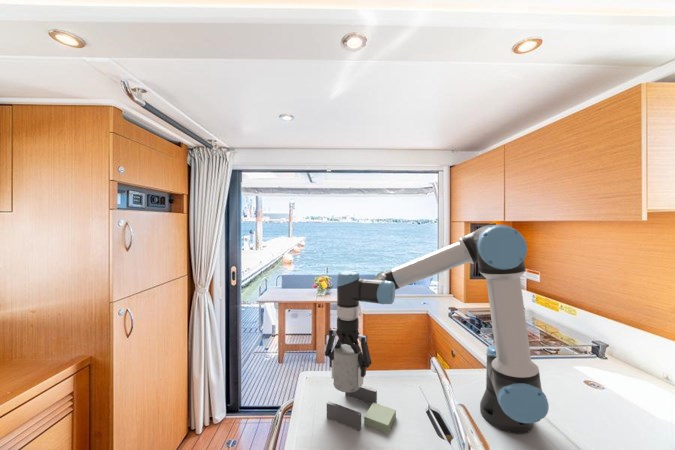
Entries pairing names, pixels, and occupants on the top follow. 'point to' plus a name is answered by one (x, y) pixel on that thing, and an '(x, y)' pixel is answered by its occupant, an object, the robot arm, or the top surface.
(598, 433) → the top surface
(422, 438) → the top surface
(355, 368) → the grey cylindrical piece
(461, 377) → the top surface
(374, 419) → the block
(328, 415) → the parallel grey rails
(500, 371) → the robot arm
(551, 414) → the top surface
